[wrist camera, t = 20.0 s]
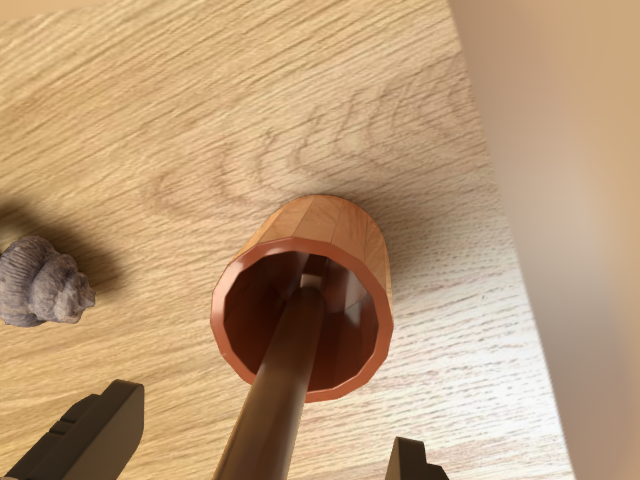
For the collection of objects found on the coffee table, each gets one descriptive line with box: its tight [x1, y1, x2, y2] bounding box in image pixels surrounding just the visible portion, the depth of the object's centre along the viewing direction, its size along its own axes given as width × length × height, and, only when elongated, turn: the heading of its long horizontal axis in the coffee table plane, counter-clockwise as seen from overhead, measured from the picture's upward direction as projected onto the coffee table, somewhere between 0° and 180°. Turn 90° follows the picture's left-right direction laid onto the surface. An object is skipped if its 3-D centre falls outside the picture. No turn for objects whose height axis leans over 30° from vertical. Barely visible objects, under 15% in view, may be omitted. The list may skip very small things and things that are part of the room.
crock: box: [210, 195, 394, 403], centre depth 23 cm, size 8×8×8 cm
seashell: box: [0, 235, 96, 327], centre depth 26 cm, size 5×5×10 cm
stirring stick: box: [212, 254, 330, 480], centre depth 17 cm, size 3×2×18 cm, turn 172°
